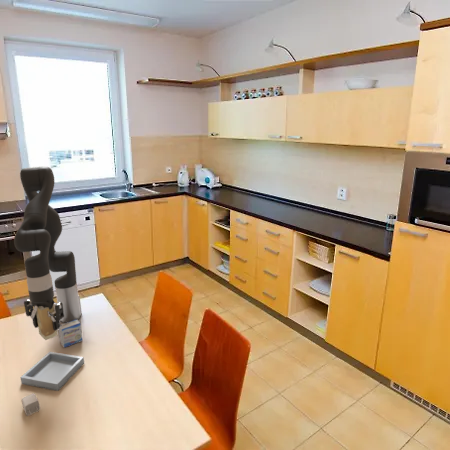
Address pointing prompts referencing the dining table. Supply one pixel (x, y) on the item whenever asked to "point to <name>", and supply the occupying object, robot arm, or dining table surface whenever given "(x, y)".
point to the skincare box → (45, 323)
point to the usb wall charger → (30, 404)
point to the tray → (52, 371)
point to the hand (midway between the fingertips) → (47, 327)
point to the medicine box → (70, 333)
